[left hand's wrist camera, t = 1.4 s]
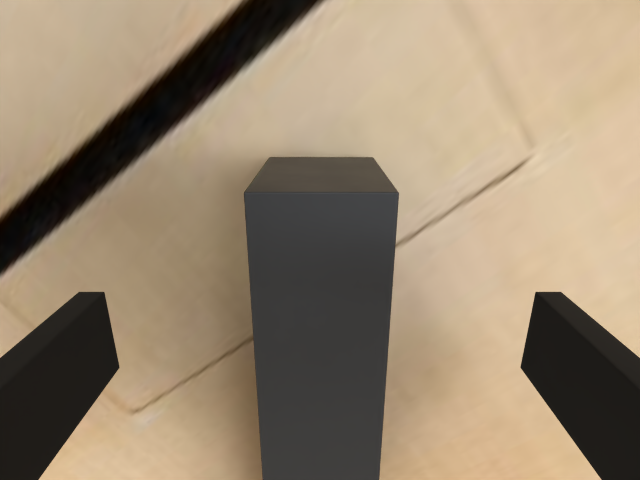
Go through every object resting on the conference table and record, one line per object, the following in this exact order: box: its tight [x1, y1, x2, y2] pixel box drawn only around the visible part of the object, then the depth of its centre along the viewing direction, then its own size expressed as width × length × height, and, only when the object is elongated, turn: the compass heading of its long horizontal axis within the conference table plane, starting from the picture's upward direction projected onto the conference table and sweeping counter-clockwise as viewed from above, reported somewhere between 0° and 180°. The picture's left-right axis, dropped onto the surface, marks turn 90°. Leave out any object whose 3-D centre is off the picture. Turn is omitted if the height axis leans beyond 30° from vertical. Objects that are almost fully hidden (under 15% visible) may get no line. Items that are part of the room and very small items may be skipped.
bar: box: [244, 157, 399, 480], centre depth 24 cm, size 27×6×8 cm, turn 0°
